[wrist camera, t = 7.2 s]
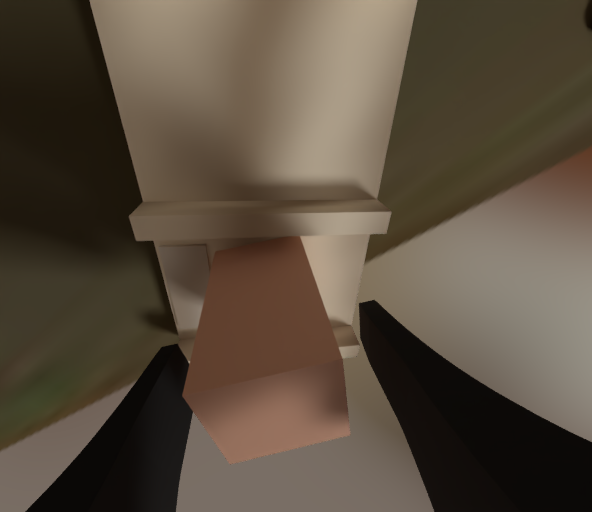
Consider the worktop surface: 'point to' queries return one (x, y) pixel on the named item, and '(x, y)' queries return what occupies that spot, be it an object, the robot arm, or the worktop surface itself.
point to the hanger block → (266, 355)
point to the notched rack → (257, 133)
